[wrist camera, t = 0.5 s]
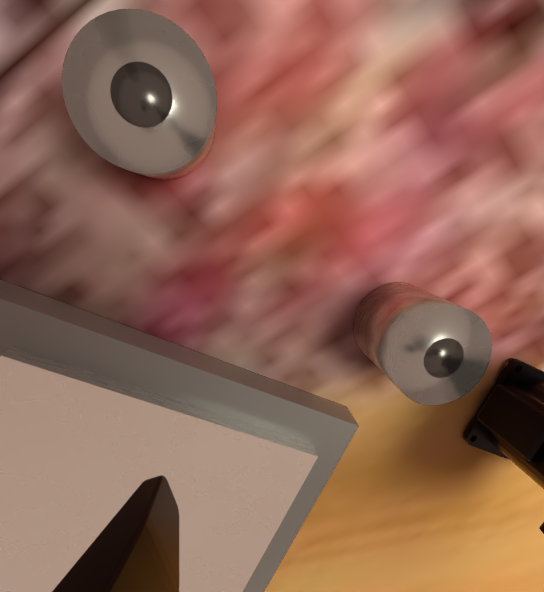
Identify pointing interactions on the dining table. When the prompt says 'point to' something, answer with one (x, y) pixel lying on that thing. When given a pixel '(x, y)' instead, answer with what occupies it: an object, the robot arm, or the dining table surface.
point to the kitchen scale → (148, 447)
